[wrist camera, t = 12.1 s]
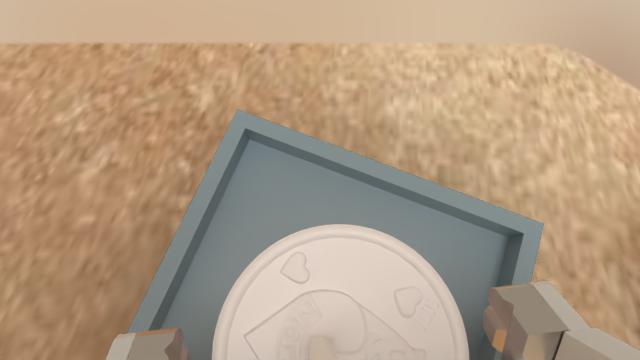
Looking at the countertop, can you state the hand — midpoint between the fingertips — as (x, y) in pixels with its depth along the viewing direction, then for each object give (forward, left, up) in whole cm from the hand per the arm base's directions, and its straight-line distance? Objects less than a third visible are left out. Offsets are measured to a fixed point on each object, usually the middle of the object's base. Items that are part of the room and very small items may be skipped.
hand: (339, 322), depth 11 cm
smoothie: (0, -1, -9) cm, 9 cm away
